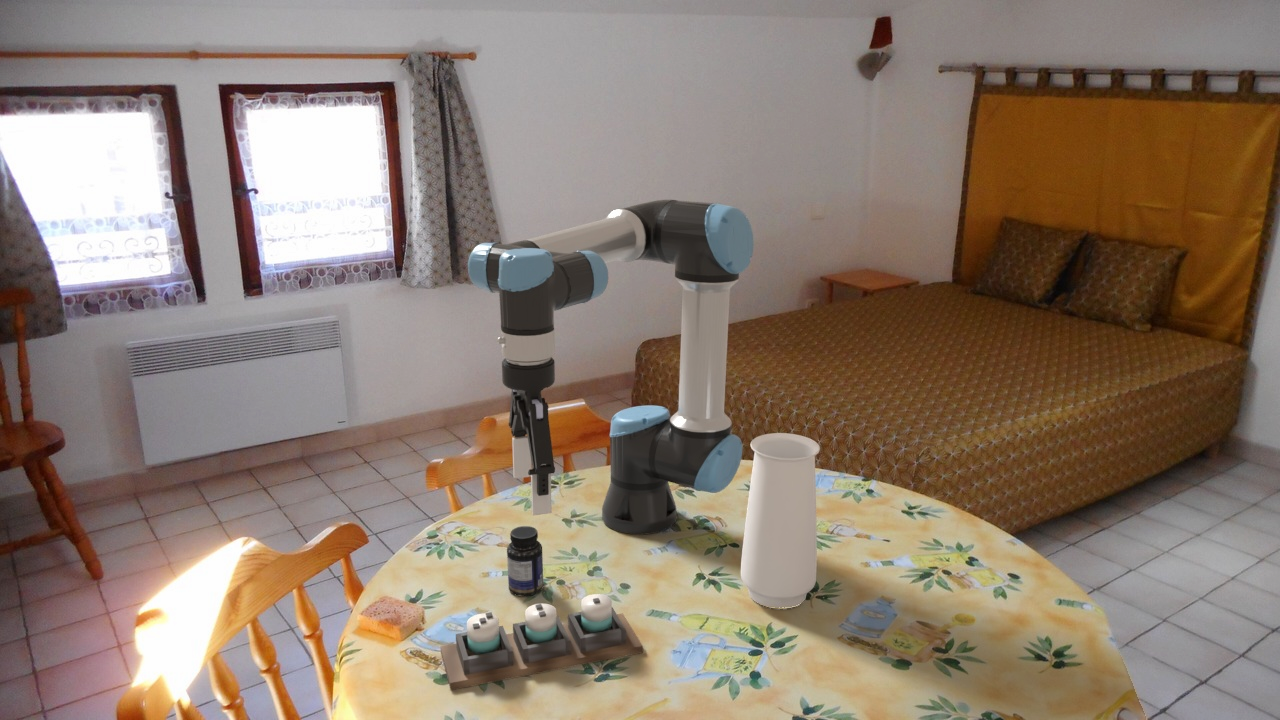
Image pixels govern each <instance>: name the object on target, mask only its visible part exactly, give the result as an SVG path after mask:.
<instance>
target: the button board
mask: <svg viewBox="0 0 1280 720" xmlns="http://www.w3.org/2000/svg"><path fill="white" fill-rule="evenodd" d="M613 607H614V606H612V626H611V627H610V629H608V630H607V631H603V632H598V633H593V632H589V631H586V630H585V629H583V627H582V620H581V611H578V612H573V613H568V614H567V622H566V623H562V620H561V618H560V616H558V615H556V620H557V635H556V637H555V638H554V639H553V640H551V641H549V642H544V643H534V642H531V641H529V640H528V639H527V638H526V623H525V621H521V622H515V623H512V633H506V630H505V628H504V625H499V638H500V645H499V647H498V648H497V649H496V650H495V651H493V652H490V653H485V654H477V653H473V652H471V651H470V650H469V648H468V637H467V631H465V632H460V633H455V641H456V642H455V643H451V644H445V645H440V647H439V648H440V655H441V658H442V663H443V666H444V670H445V674H446V678H447V681H448V686H449V690H450V691H452V690H459V689H462V688H463V689H464V688H468V687H472V686H473V687H474V686H479V685H484V684H489V683H493V682H499V681H504V680H509V679H514V678H519V677H525V676H529V675H530V676H531V675H534V674H540V673H545V672H549V671H556V670H561V669H566V668H571V667H576V666H580V665H585V664H591V663H595V662H601V661H607V660H611V659H616V658H617V659H618V658H622V657H626V656H627V657H628V656H632V655H637V654H638V655H639V654H642V653H643V649H644V648H643V647H644V646H643V644H642V642H641V641H640V639H639V637H638V636H637V635H636V634H637V633H635V630H634V629H633V628H632V626H631V625H630V623H629V621H628V620H627V618H626V616H625V615H624V613H618V614H617V612H616V611H615V609H614V608H613Z"/></svg>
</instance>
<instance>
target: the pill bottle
mask: <svg viewBox="0 0 1280 720" xmlns="http://www.w3.org/2000/svg"><path fill="white" fill-rule="evenodd" d="M509 535H510V536H509V537H510V538H509V539H510V543H508V545H507V549H506V556H507V557H506V558H507V578H508V579H507V581H508V590H509V592H510V593H511V594H513V595H515V596H518V597H531V596H533V595H536V594H539V592H541V591H542V589H543V587H544V566H543V565H544V563H543V559H544V558H543V545H542V543H541V542H540V541H539V540H538V538H539V536H538V535H539V533H538V530H537V529H536V527H533V526H531V525H530V526H529V525H522V526H517V527H515V528H512V530H511V531H510V533H509Z"/></svg>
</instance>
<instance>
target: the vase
mask: <svg viewBox="0 0 1280 720" xmlns="http://www.w3.org/2000/svg"><path fill="white" fill-rule="evenodd" d="M750 448H751V450H752V451H753V452H754V454H753V462H752V463H753V464H752V470H751V476H750V484H749V485H750V486H749V490H748V491H749V492H748V500H747V506H746V507H747V509H746V515H745V524H744V531H743V532H744V534H743V541H742V551H741V560H740V579H741V582H742V583H743V584H744V586H745V587H747V590H748V596H749V597H750V599H751V598H752V599H753V600H754V601H756V602H757V603H759V604H761V605H764V606H768V607H775V608H779V607H780V608H782V607H784V608H785V607H792V606H796V605H798V604H800V603H802V602H803V601H804V600H805V601H806V597H807V594H808V593H809V592H810V591H812V590H813V589H814V588H815V585H816V582H817V570H818V569H817V568H818V567H817V564H818V560H817V558H818V556H817V555H818V551H817V550H818V548H817V546H818V543H817V542H818V540H817V539H818V536H817V535H818V534H817V533H818V532H817V530H818V529H817V526H818V525H817V490H816V489H817V488H816V486H817V485H816V456H817V455H818V454H819V452H820V449H821V447H820V445H819V444H818V442H817V441H815V440H814V439H811V438H810V437H807V436H804V435H801V434H795V433H785V432H784V433H783V432H776V433H775V432H774V433H772V432H771V433H766V434H761V435H758V436H757V437H755V438H753V439H752V440H751V442H750ZM752 599H751V600H752ZM753 600H752V601H753ZM754 601H753V602H754ZM805 601H804V602H805ZM756 602H755V603H756ZM804 602H803V603H804ZM757 603H756V604H757ZM803 603H802V604H803ZM759 604H758V605H759ZM761 605H760V606H761ZM764 606H763V607H764Z"/></svg>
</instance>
